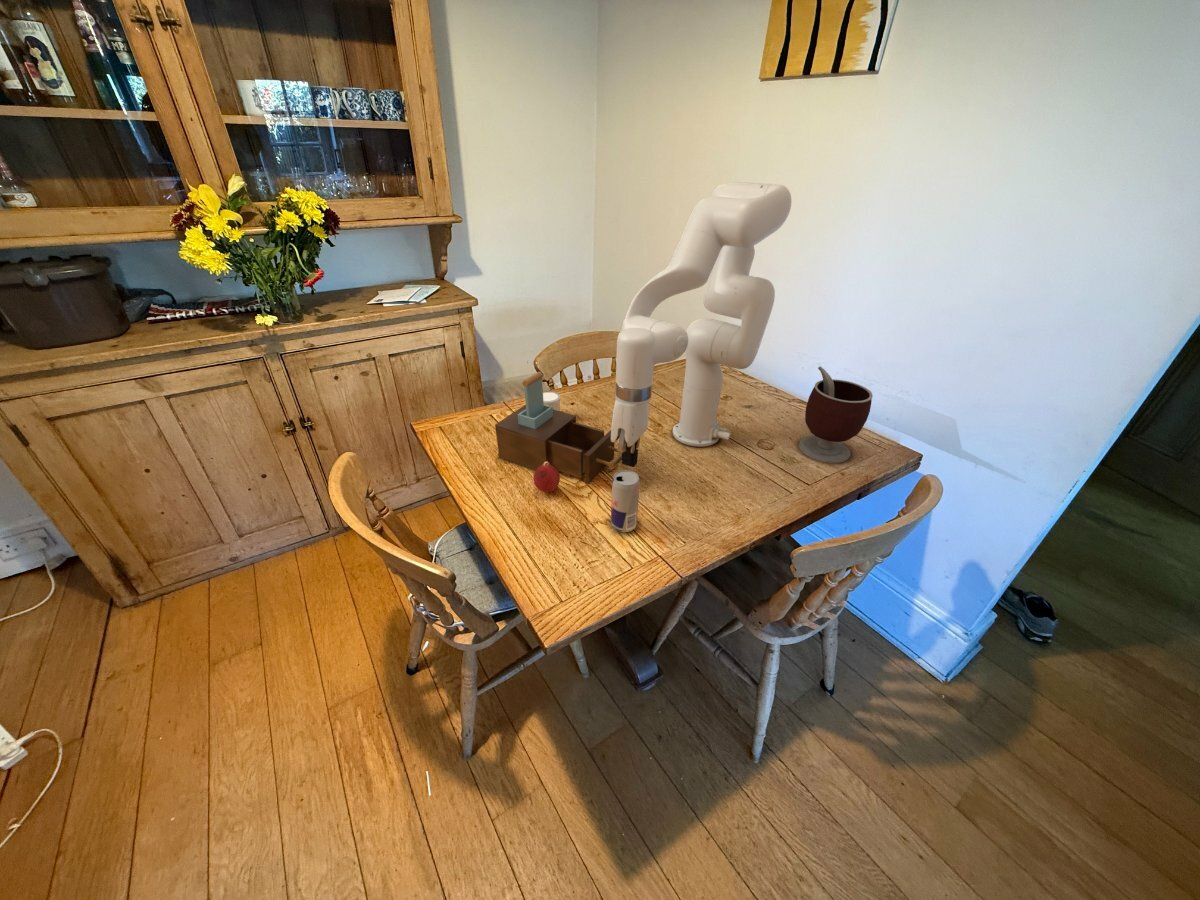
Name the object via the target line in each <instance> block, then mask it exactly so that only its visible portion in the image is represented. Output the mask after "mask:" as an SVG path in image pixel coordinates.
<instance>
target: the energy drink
mask: <svg viewBox="0 0 1200 900" xmlns="http://www.w3.org/2000/svg"><path fill="white" fill-rule="evenodd" d="M640 482H641V481H640V477H639V474H638V473H637V472H635V471H633V470H629V469H622V470H618V471H616V472H615V473H614V474H613V477H612V480H611V505H610V506H611V507H610V508H611V509H610V526H611V527H612V528H613V529H614V530H615V531H617V532H619V533H630V532H632V531H634V530H635V529H636V528H637V525H638V515H639V513H638V512H639V511H638V510H639V498H640V485H641V484H640Z"/></svg>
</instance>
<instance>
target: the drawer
mask: <svg viewBox="0 0 1200 900" xmlns="http://www.w3.org/2000/svg"><path fill="white" fill-rule="evenodd" d="M615 443H616V442H615ZM615 443H614V442H611V429H610V430H609V431H608V432H607V433H606V434H605V430H604V429H601V428H597V427H593V426H589V425H586V424H583V423H579V422H577V421H576V422H573V421H572V422H571V423H570V424H569V425H567V426H566V427H565V428H564V429H562V430H561V431H560V432H559V433H557V434H556V435H555V436H554V437H552V438H551V439H550V440H549V441H547V446H548V462H549V465H552V466H553V467H555V468H556V469H557V470H558V472H561V473H565V474H566V475H567V474H568V475H570V476H573V477H576V478H579V479H583V477H584V484H587V485H590V484H591V483H592V482H593V481H594V480H595V479H596V478H597V477H598V476H599V475H600V474H601V472H603V471H604V470H605V468H606V467H609V469H611V470H613V469H615V468H616V467H617V466H618V465H619V464H620V462H622V452H619V451H617V450H618V447H617V448H616V446H615V445H616V444H615ZM615 452H616V453H618V454H617V455H615Z"/></svg>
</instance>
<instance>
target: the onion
mask: <svg viewBox="0 0 1200 900" xmlns="http://www.w3.org/2000/svg"><path fill="white" fill-rule="evenodd" d="M560 482H561V476H560V471H558V470H557V469H556V468H555V467H553V466H552V465H549V462H548V461H547V462H544V464H543V465H541V466H540V467H538V468H537V470H534V473H533V484H534V486H535V487H536V488H537V490H538V491H541V492H543V493H550V492H552V491H554V490H555V489H557V487H558V486H559V485H560Z"/></svg>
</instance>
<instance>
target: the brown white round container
mask: <svg viewBox="0 0 1200 900" xmlns="http://www.w3.org/2000/svg"><path fill="white" fill-rule="evenodd" d="M543 402H544V405H548V406H551V407H553V409H554V410H558V411H561V409H560V408H561V395H560V393H558V392H556V391H543Z"/></svg>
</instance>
